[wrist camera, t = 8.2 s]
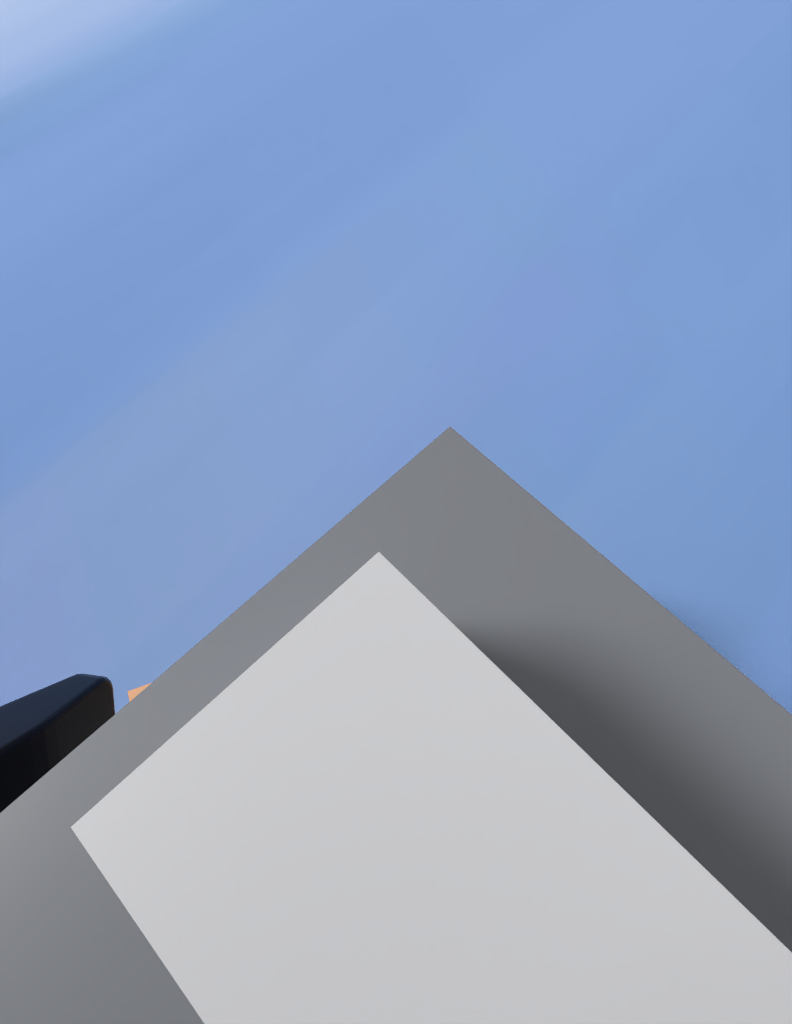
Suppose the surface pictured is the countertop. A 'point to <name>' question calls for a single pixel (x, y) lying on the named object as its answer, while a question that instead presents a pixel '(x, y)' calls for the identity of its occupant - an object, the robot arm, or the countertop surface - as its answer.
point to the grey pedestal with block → (418, 798)
